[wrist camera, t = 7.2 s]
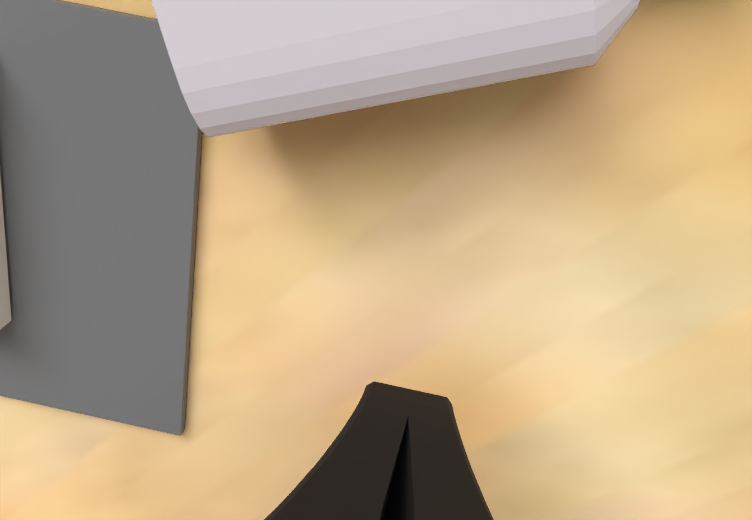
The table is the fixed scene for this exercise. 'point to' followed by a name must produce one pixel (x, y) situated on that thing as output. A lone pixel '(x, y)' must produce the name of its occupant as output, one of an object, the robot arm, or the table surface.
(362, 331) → the table surface
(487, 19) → the charger
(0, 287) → the tile
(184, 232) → the mat
